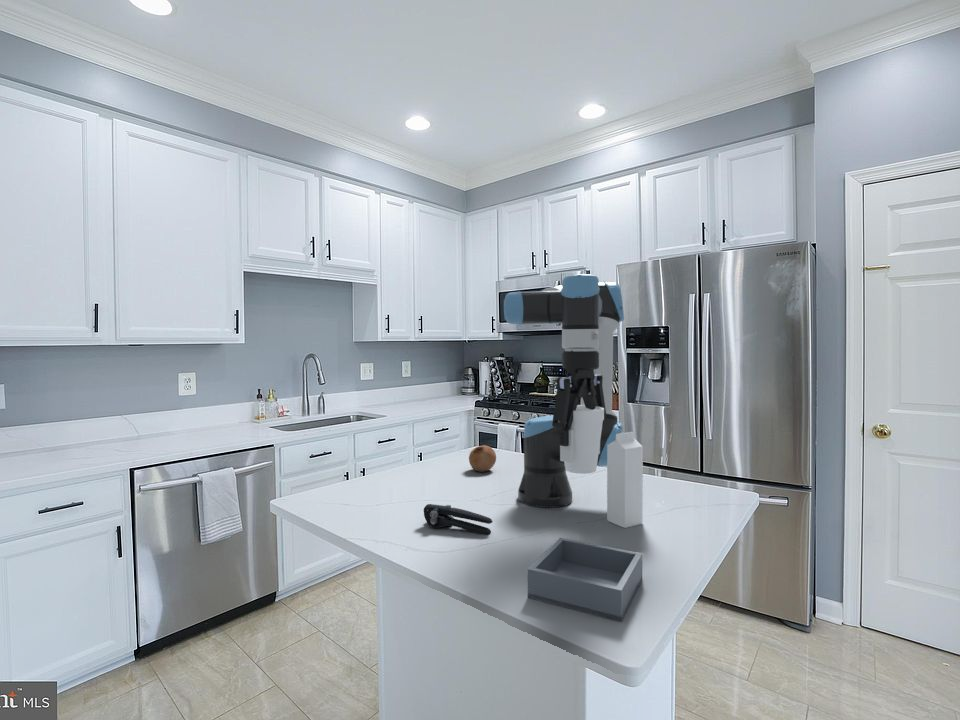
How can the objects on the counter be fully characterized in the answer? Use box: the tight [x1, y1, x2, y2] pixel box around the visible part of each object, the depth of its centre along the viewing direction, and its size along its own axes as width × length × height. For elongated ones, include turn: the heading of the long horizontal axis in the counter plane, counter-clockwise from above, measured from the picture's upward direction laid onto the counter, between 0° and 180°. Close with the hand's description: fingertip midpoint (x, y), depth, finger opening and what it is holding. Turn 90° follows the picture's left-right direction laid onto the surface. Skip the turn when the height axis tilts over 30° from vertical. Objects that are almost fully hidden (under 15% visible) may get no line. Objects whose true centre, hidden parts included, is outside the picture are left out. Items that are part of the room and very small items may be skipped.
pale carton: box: [606, 431, 644, 529], centre depth 123 cm, size 6×6×22 cm
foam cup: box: [564, 404, 604, 475], centre depth 106 cm, size 10×9×13 cm
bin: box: [527, 537, 643, 623], centre depth 90 cm, size 16×16×5 cm
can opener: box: [423, 503, 493, 535], centre depth 120 cm, size 18×7×6 cm, turn 66°
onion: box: [468, 444, 497, 473], centre depth 175 cm, size 10×9×10 cm
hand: (580, 457), depth 106 cm, fingers closed on foam cup, 9 cm apart
